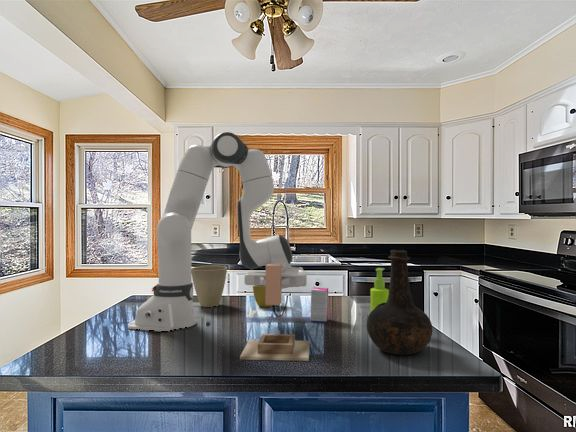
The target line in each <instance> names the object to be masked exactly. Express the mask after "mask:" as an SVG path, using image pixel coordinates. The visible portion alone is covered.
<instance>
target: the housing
mask: <svg viewBox="0 0 576 432" xmlns="http://www.w3.org/2000/svg"><path fill="white" fill-rule="evenodd" d="M295 336H296V335H295V333H293V334H290V333H289V334H287V333H280V334H278V333H262V334H261V335H260V338H259V339H248V341H247V343H246V344H245V347H244V349H243V350H242V352H241V354H240V356H239V360H245V361H246V360H248V361H249V360H250V361H252V360H253V361H255V360H256V361H257V360H258V361H292V362H293V361H295V362H296V361H299V362H304V361H305V362H309V361H310V360H309V359H310V346H311V345H310V344H311V343H310V340H296V339H295V338H296V337H295Z"/></svg>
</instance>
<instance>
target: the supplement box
mask: <svg viewBox="0 0 576 432" xmlns="http://www.w3.org/2000/svg"><path fill="white" fill-rule="evenodd" d="M328 316H329V288H328V287H316V286H315V287H314V286H313V288H311V289H310V321H309V322H310V323H318V324H326V323H327V321H328V318H329V317H328Z"/></svg>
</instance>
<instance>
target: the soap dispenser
mask: <svg viewBox="0 0 576 432" xmlns="http://www.w3.org/2000/svg"><path fill="white" fill-rule="evenodd" d="M384 270H386V269H385V268H384V267H377V268H375V272H376V277H375V278H373V281H374V283H373V285H374V286H373V287H372V288H370V295H369V296H370V313H371V312H372V310H374V309H375V307H376V306H378V305H379V304H381V303H386V302H387V300H388V295H389V289H388V288H385V287H386V285H385V284H386V282H385V280H386V279H385V278H384V277H383V271H384Z"/></svg>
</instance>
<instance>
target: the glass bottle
mask: <svg viewBox="0 0 576 432" xmlns="http://www.w3.org/2000/svg"><path fill="white" fill-rule="evenodd" d="M389 252H390V255H388V257H387V258H388V259H389V260H390V279H389V280H390V281H389V289H388V290H389V295H388V300H387V302H386V303H381V304H379V305H378V306H376V307H375V309H374V310H372V312H371V311H370V313H369V315H367V319H366V330H367V331H366V332H367V333H368V336H369V338H370V339H371V341H372V342H373V343H374V345H375V346H376V347H377V348H379V350H381V351H383V352H385V353H386V354H391V355H396V356H397V355H398V356H409V355H415V354H416V353H419V352H422V350H424V348H426V347H427V346H428V344H429V343H430V341H431V339H432V336H433V325H432V321H431V319H430V317H429V316H428V315H427V313H425V312H424V311H423V310H421V308H418V307H417V306H416V305H415V303H414V301H413V298H412V293H411V289H410V283H409V282H410V280H409V271H408V260H410V259H411V257H410V256H408V251H407V250H403V249H391V250H390V251H389Z"/></svg>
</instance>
